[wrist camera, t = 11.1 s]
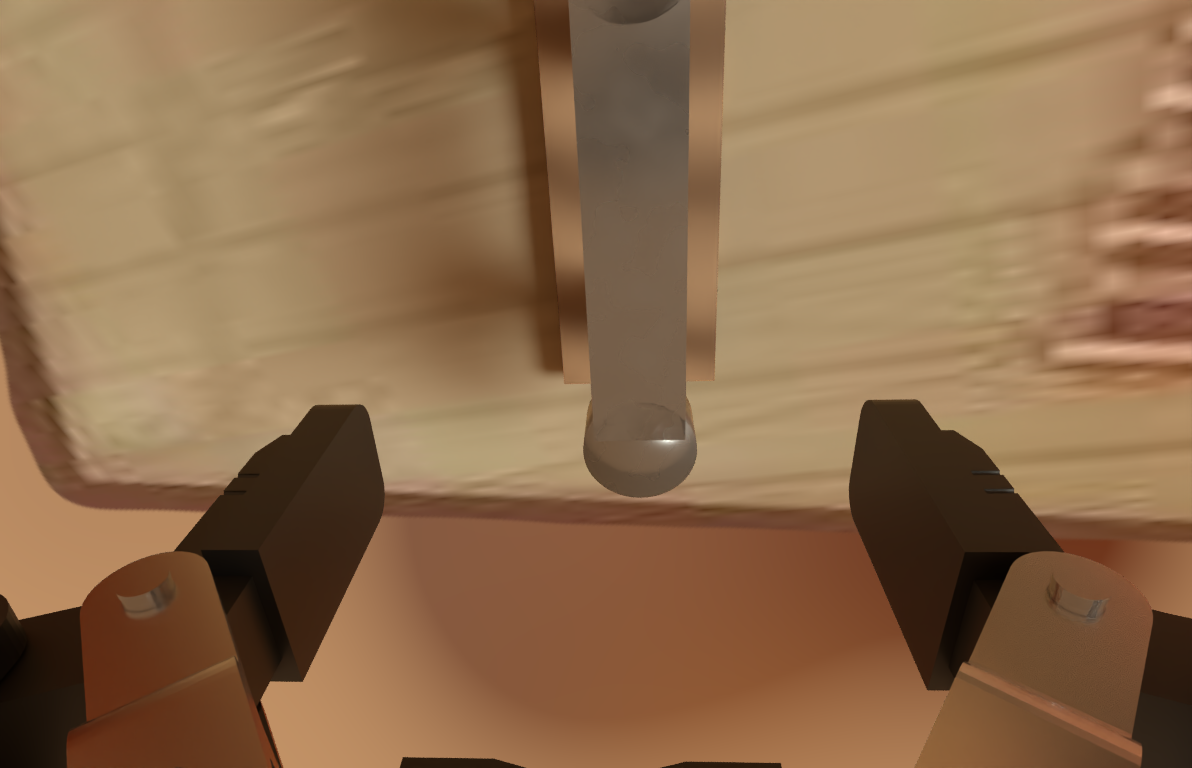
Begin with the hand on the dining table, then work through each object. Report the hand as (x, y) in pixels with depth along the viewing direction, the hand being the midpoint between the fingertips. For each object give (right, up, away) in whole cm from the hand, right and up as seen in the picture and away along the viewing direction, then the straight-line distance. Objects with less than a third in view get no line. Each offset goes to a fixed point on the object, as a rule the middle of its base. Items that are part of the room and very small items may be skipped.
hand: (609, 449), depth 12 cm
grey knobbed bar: (+1, +7, +14) cm, 16 cm away
